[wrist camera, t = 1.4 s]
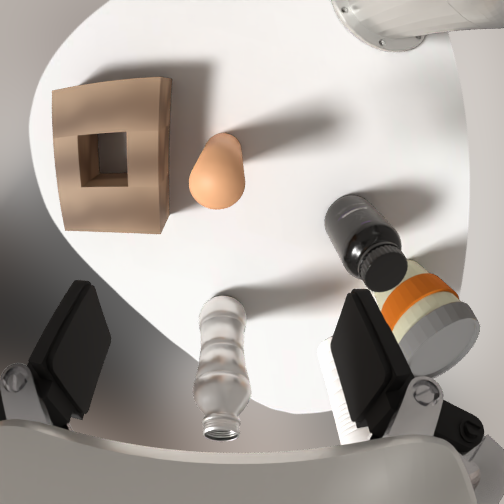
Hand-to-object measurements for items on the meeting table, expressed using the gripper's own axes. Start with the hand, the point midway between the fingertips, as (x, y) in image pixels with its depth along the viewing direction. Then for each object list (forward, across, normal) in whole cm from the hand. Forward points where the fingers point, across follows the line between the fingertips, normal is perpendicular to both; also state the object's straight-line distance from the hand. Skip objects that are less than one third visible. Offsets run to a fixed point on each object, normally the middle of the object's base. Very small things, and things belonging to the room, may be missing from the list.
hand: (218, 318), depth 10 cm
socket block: (+24, +13, -1) cm, 27 cm away
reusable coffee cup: (+25, -27, +17) cm, 40 cm away
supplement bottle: (+25, -15, +7) cm, 30 cm away
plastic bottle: (+24, 0, +21) cm, 32 cm away
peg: (+24, +1, -1) cm, 24 cm away
